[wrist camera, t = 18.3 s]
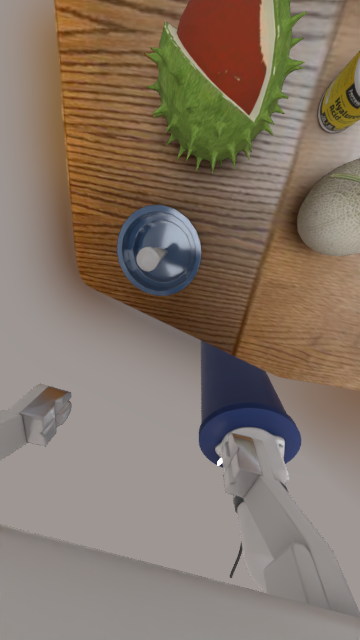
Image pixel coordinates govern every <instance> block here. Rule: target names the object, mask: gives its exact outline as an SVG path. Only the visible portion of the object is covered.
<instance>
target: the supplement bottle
mask: <svg viewBox="0 0 360 640" xmlns="http://www.w3.org/2000/svg"><path fill="white" fill-rule="evenodd" d="M318 118H319V123H320V125H321V127H322V128H323V129H324V130H326V131H328V132H331V133H336V132H340V131H342V130H345V129H346V128H348V127H349V126H351V125H352V124H354V123H355V122H356V121H358V120H359V119H360V51H359V52H358V53H357V55H356V56H355V57H354V58H353V59H352V60H351V61H350V63H349V64H348V65H347V66H346V67H345V68H344V69H343V71H342V72H341V73H340V74H339V75H338V76H337V77H336V78H335V80H334V81H333V82H332V83H331V84H330V86H329V87H328V88H327V90H326V91H325V93H324V95H323V97H322V99H321V102H320V105H319V111H318Z"/></svg>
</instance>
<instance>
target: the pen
mask: <svg viewBox="0 0 360 640" xmlns="http://www.w3.org/2000/svg"><path fill="white" fill-rule="evenodd" d="M167 253H168V251H167V250H166V249H162V248H152V247H145V248H143V249H141V250H140V251H139V253H138V255H137V260H136V261H137V264H138V266H139V267H140V268H141V269H143V270H144V271H151V270H153V269H154V268H155V267H156V266H157V264H158V263H159V261H160V260H161V258H163V257H164V256H165V255H166V254H167Z"/></svg>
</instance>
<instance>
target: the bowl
mask: <svg viewBox="0 0 360 640" xmlns="http://www.w3.org/2000/svg"><path fill="white" fill-rule="evenodd" d="M145 247H152V248H162V249H166V250H167V251H168V253H167V254H166V255H165V256H164V257H163V258H161V260H160V261H159V263H158V264H157V266H156V267H155V268H154V269H153V270H151V271H144V270H143V269H141V268H140V267H139V266H138V264H137V261H136V260H137V255H138V253H139V251H140V250H141V249H143V248H145ZM117 254H118V260H119V264H120V266H121V268H122V270H123V272H124V274H125V276H126V277H127V278H128V279H129V280H130V282H131V283H132V284H133V285H134V286H136V287H137V288H139V289H140V290H142V291H143V292H145V293H149V294H152V295H157V296H162V295H171V294H174V293H177V292H179V291H181V290H182V289H183V288H185V287H186V286H187V285H189V284H190V283H191V281H192V280H193V278H194V277H195V275H196V274H197V272H198V268H199V265H200V262H201V243H200V240H199V237H198V233H197V231H196V229H195V228H194V226H193V225H192V223H191V222H190V221H189V219H188V218H187V217H186V216H184V215H183V214H182V213H180V212H179V211H178V210H176V209H174V208H171V207H167V206H164V205H150V206H145V207H143V208H141V209H139V210H137V211H135V212H134V213H132V215H131V216H130V217H129V218H128V219H127V220H126V221H125V222H124V224H123V226H122V228H121V231H120V233H119V236H118V243H117Z"/></svg>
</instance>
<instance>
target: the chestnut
mask: <svg viewBox="0 0 360 640" xmlns="http://www.w3.org/2000/svg"><path fill="white" fill-rule="evenodd" d="M290 2H291V0H190V1H189V3H188V5H187V7H186V9H185V10H184V12H183V14H182V16H181V19H180V22H179V26H178V29H176V28H175V27H173V26H172V25H170V24H169V23H167V22H165V25H164V28H163V32H162V36H161V39H160V43H159V48H153V47H150V48H151V49H152V50H153V51H154V52H155V53H151V54H146V53H144V55H145V56H147V57H148V58H149V59H151V60H152V61H153V62H155V63H156V64H157V66H158V68H159V76H158V80H157V81H156V83H155V84H153V85H151V86H147V88H150V89H153V90H156V91H157V92H158V93H159V95H160V96H161V102H162V105H161V106H160V107H159V108H158V109H157V110H156V111H154V112H153V114H155V113H157V114H156V115H155V116H154V117H160V116H164V117H165V118H166V120H167V124H168V128H167V129H166V131H167V130H168V131H167V133H168V132H169V131H170V130H171V137H170V139H169V141H168V142H167V144H169V143H170V142H172V141H173V140H177V141H178V143H180V151H179V154H178V158H179V157H180V156H181V155H182V153H183V152H184V151H188V153H187V154H188V155H187V159H186V161H187V160H188V158H189V156H190V155H191V154H193V155H195V156H196V159H197V167H196V171H197V169H198V167H199V164H200V162H201V161H202V160H203V159H205V160H209V162H210V163H211V169H212V174H213V171H214V167H215V164H216V162H217V161H220V166H222V160H225V159H227V158H229V159H231V160H232V162H233V165H234V170H235V162H236V155H237V153H239V152H240V151H244V152H245V154H246V156H247V157H248V159H249V150H250V151H251V147H252V145H251V141H252V140H253V139H254V138H256V136H257V135H258V133H259V132H260V131H262V130H266V131H268V132H269V133H270V134H271V135H273V133H272V131H271V129H270V127H269V123H271V124H274V123H273V121H272V119H271V118H270V116H271V114H272V113H274V112H277V113H282V114H284V112H283V111H282V110H281V108H280V107H279V106H278V102H277V101H278V99H281V98H286V99H288V98H289V97H288V96H286V95H285V94H283V93H282V92H281V90H282V86H283V82H284V80H285V78H286V76H287V75H288V74H289V73H291V72H292V71H294V70H298V69H302V68H303V67H300V66H298V65H300V64H303V63H305V62H303V61H297V60H292V59H290V58H289V51H290V49H291V48H292V47H293V46H294V45H295V44H297V43H298V42H299V41H301V40H302V39H303V38H291V36H292V27H293V26H294V24H295V23H296V22H297V21H298V20H299V19H300V18H301V17H302V16H303V15H305V14H306V11H305V12H303V13H300V14H298V15H295V16H293V17H291V14H290ZM167 144H166V145H167ZM251 152H252V151H251ZM178 158H177V160H178Z"/></svg>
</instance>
